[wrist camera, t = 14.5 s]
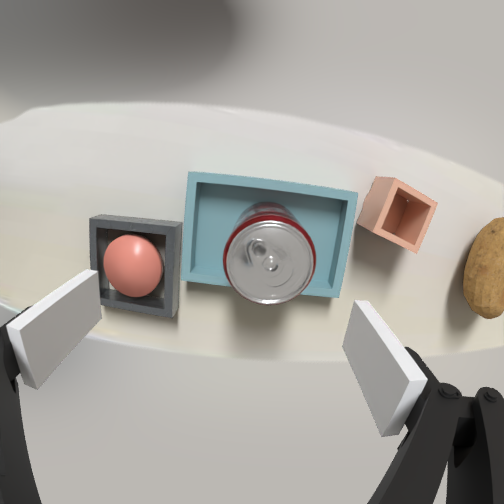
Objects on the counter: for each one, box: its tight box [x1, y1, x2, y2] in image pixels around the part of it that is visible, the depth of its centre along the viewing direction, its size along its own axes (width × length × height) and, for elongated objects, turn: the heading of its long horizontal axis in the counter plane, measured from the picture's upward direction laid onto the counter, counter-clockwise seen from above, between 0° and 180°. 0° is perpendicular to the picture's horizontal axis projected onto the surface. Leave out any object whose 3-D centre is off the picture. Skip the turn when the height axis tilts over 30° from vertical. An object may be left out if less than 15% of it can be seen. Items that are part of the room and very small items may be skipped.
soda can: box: [223, 201, 316, 305], centre depth 28 cm, size 7×7×12 cm
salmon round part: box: [104, 234, 163, 297], centre depth 35 cm, size 8×8×2 cm
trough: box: [181, 172, 358, 298], centre depth 33 cm, size 18×12×3 cm, turn 83°
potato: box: [463, 217, 504, 319], centre depth 31 cm, size 10×14×8 cm
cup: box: [357, 176, 438, 254], centre depth 31 cm, size 6×6×6 cm
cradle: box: [89, 214, 182, 318], centre depth 35 cm, size 11×11×3 cm
